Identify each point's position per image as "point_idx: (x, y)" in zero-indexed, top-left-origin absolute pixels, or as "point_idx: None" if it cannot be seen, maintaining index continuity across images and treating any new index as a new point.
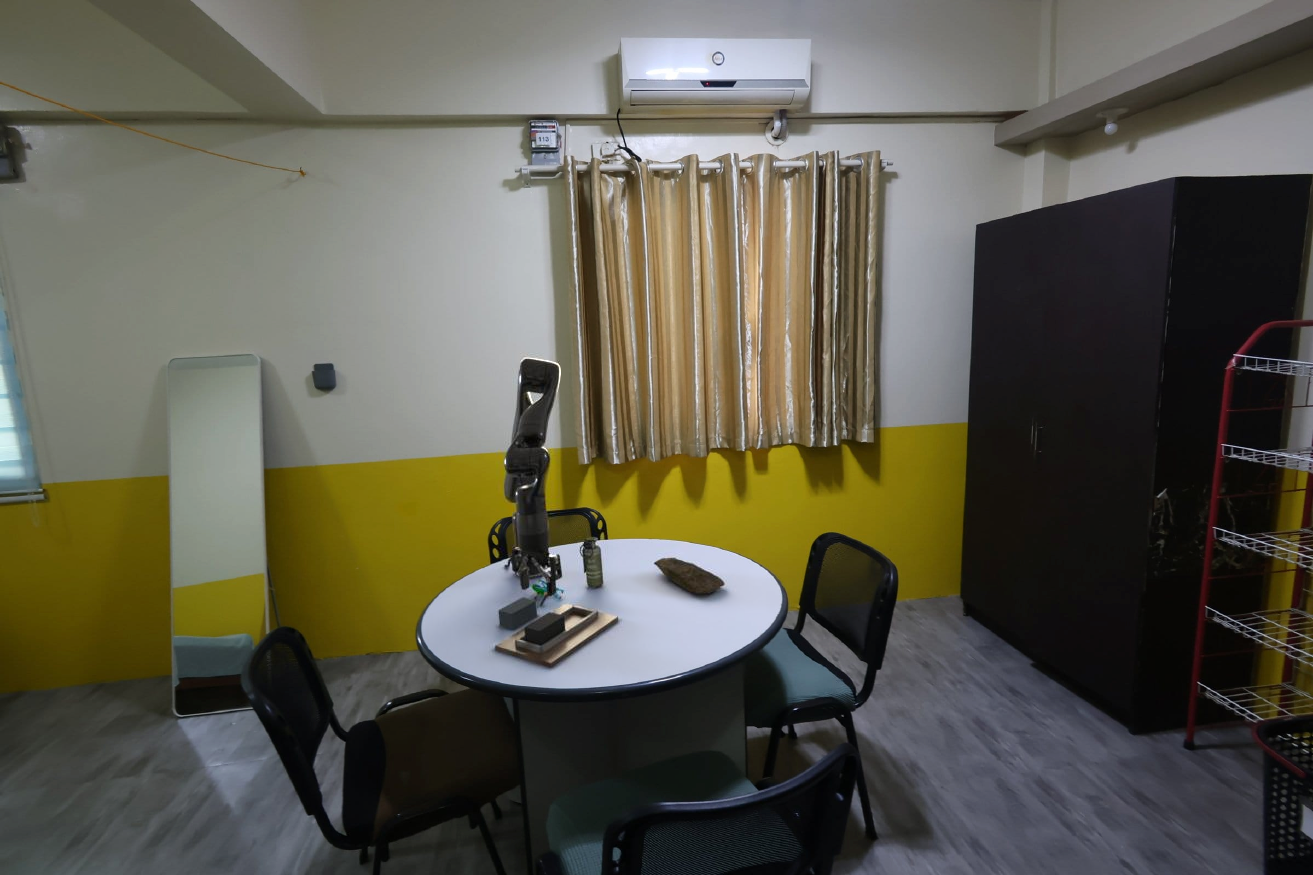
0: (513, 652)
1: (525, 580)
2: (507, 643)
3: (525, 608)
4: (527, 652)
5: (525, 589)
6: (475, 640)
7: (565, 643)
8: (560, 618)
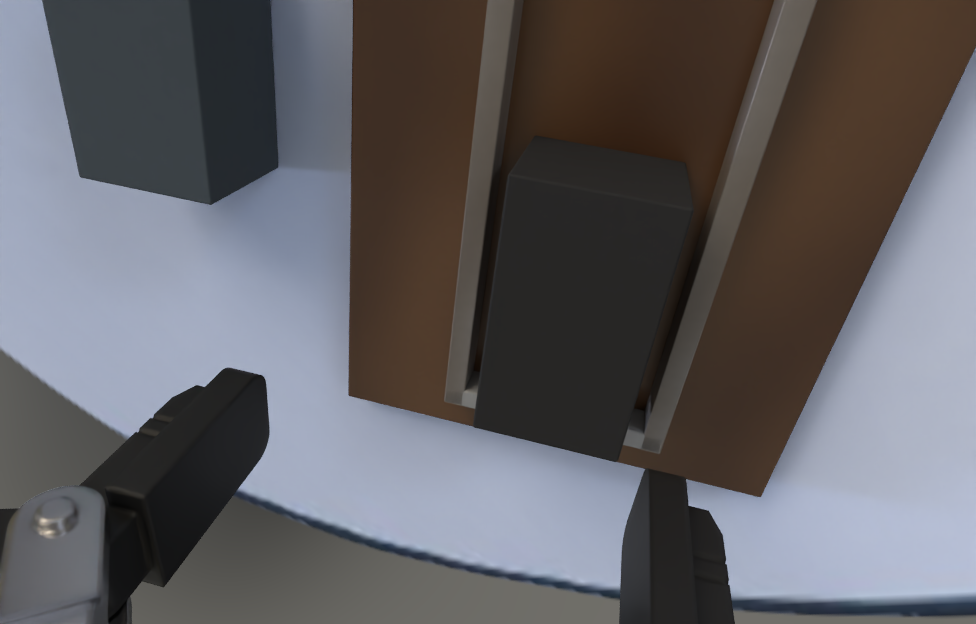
0: None
1: (206, 491)
2: (395, 367)
3: (206, 48)
4: None
5: (268, 423)
6: (193, 320)
7: (755, 300)
8: (678, 258)
